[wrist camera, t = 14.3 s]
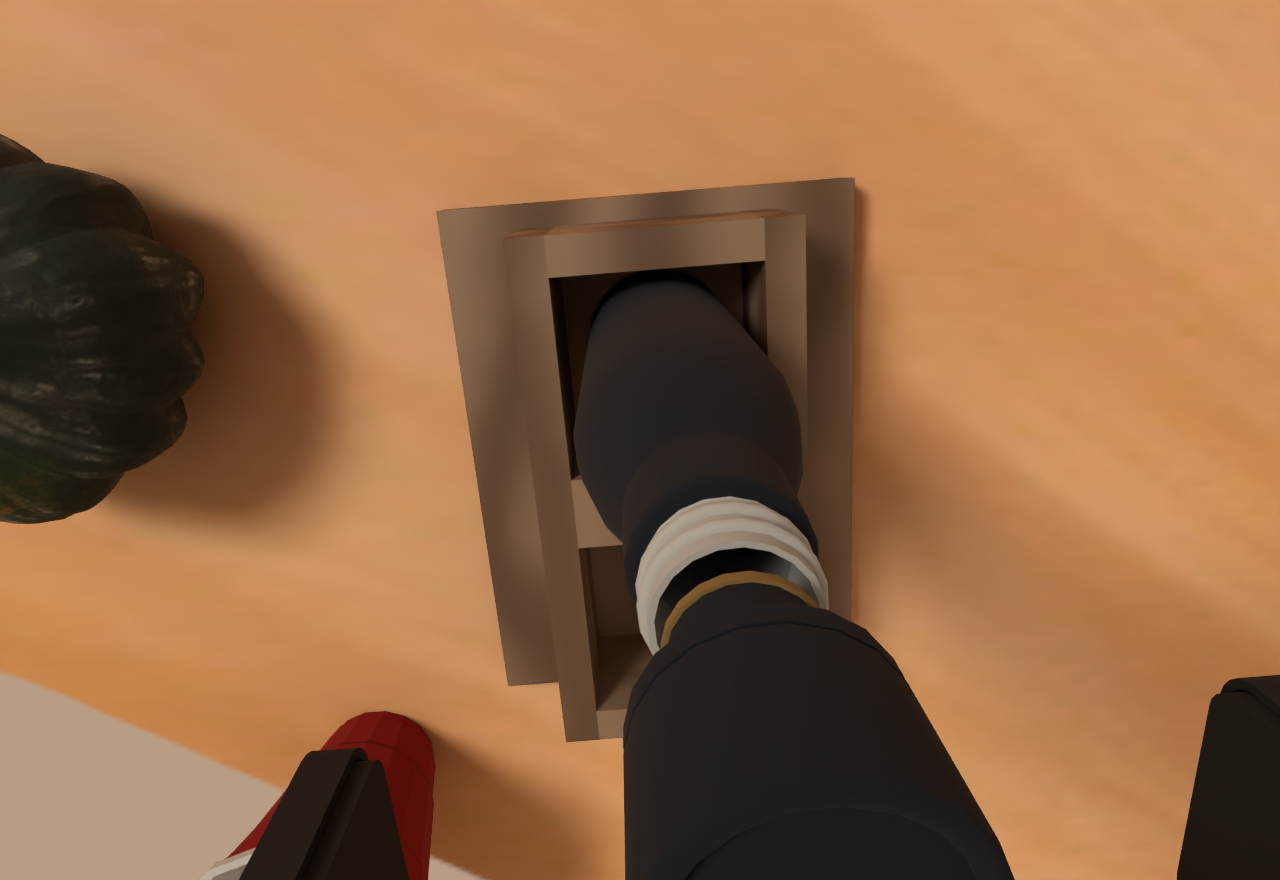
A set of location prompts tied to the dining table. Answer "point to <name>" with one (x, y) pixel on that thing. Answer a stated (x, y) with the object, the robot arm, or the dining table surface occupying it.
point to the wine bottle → (747, 626)
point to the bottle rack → (551, 380)
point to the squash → (85, 337)
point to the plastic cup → (407, 781)
